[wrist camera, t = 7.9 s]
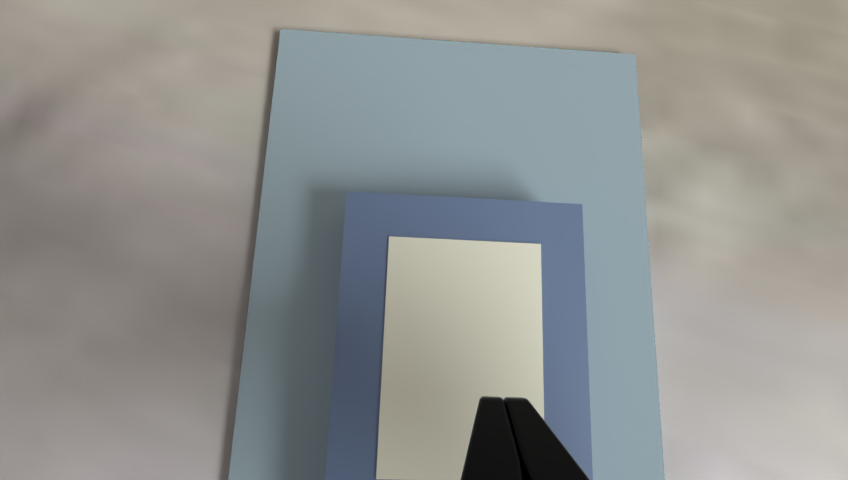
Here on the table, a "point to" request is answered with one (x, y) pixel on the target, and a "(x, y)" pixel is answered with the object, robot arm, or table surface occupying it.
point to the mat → (449, 177)
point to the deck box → (454, 330)
